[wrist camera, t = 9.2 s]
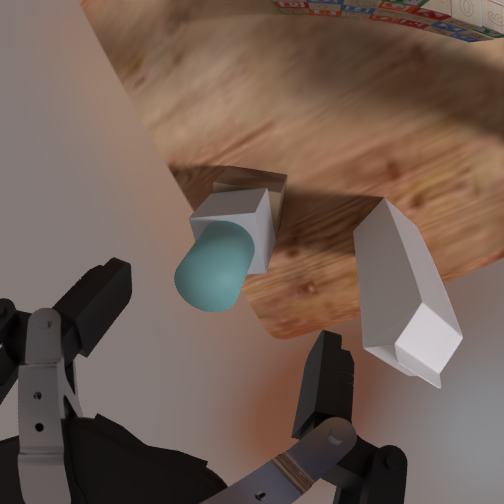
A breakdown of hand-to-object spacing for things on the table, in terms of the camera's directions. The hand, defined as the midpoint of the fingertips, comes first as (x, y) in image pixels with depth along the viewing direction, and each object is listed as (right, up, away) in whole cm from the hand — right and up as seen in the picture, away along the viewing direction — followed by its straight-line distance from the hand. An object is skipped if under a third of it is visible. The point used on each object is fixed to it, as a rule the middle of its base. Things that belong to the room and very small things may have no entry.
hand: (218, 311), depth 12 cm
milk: (+18, +5, +25) cm, 31 cm away
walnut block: (+2, +9, +26) cm, 28 cm away
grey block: (0, +6, +21) cm, 22 cm away
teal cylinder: (-1, +3, +16) cm, 16 cm away
